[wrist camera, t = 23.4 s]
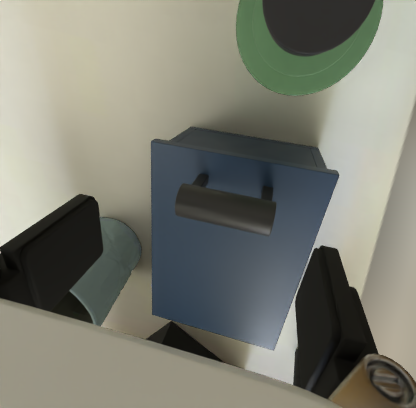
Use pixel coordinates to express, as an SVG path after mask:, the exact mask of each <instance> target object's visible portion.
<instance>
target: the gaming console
mask: <svg viewBox="0 0 416 408" xmlns="http://www.w3.org/2000/svg"><path fill="white" fill-rule="evenodd" d="M146 340H149V341H152V342H155V343H159V344H162V345H166V346H169V347H172V348H176V349H179V350H182V351H186V352H189V353H192V354H196V355H199V356H202V357H206V358H209V359H212V360H216V361H219V362H222V361H221V360H220V359H218V358H217V357H216V356H215V355H213V354H212V353H211V352H210V351H208V350H207V349H206V348H204V347H203V346H202V345H201V344H199V343H198V342H197V341H196V340H194V339H193V338H192V337H191V336H189V335H188V334H187V333H185V332H184V331H183V330H182V329H180V328H179V327H178V326H177V325H175V324H174V323H173V322H172V321H171V322H170V323H168V324H167V325H166V326H164V327H163V328H161V329H160V330H159V331H157V332H156V333H154V334H153V335H152V336H150V337H149V338H147V339H146ZM222 363H223V362H222Z"/></svg>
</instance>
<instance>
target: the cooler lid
mask: <svg viewBox="0 0 416 408" xmlns="http://www.w3.org/2000/svg"><path fill="white" fill-rule="evenodd" d="M338 177H339V174H338V172H337V171H335V170H330V169H324V168H318V167H313V166H307V165H302V164H296V163H290V162H285V161H279V160H273V159H268V158H262V157H256V156H251V155H245V154H239V153H234V152H228V151H222V150H217V149H211V148H206V147H200V146H194V145H189V144H183V143H177V142H172V141H166V140H160V139H154V140H153V141H151V214H152V315H155V316H158V317H162V318H165V319H169V320H172V321H175V322H179V323H182V324H185V325H189V326H192V327H196V328H199V329H202V330H206V331H209V332H213V333H216V334H219V335H223V336H226V337H229V338H233V339H236V340H240V341H243V342H246V343H250V344H253V345H257V346H260V347H263V348H267V349H270V350H274V349H275V346H276V343H277V341H278V338H279V335H280V333H281V330H282V327H283V325H284V322H285V319H286V317H287V314H288V311H289V309H290V306H291V303H292V301H293V298H294V295H295V293H296V290H297V287H298V284H299V282H300V279H301V276H302V274H303V271H304V268H305V266H306V263H307V260H308V258H309V255H310V252H311V250H312V247H313V244H314V242H315V239H316V236H317V234H318V231H319V228H320V226H321V223H322V220H323V218H324V215H325V212H326V210H327V207H328V204H329V202H330V199H331V196H332V194H333V191H334V188H335V186H336V183H337V180H338Z"/></svg>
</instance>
